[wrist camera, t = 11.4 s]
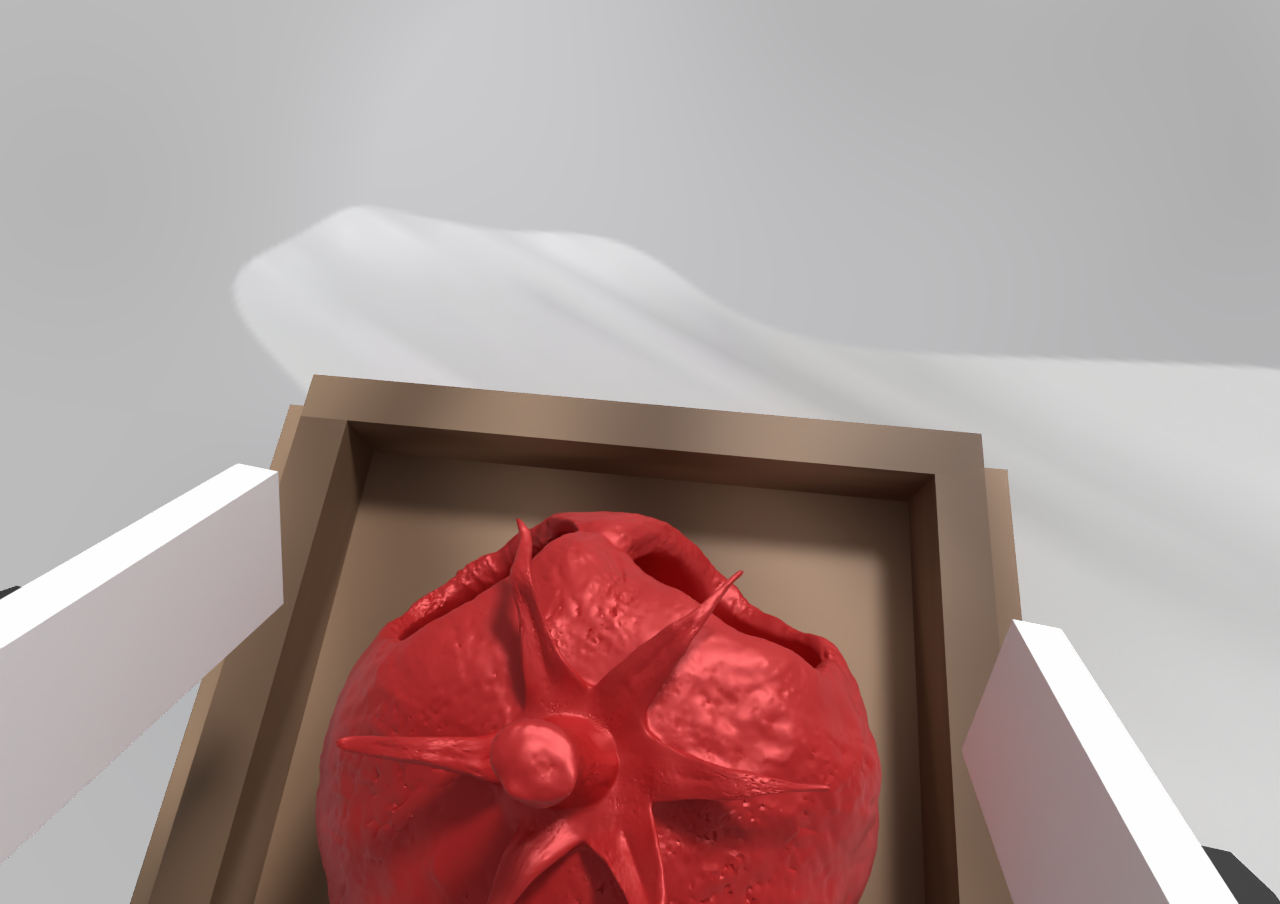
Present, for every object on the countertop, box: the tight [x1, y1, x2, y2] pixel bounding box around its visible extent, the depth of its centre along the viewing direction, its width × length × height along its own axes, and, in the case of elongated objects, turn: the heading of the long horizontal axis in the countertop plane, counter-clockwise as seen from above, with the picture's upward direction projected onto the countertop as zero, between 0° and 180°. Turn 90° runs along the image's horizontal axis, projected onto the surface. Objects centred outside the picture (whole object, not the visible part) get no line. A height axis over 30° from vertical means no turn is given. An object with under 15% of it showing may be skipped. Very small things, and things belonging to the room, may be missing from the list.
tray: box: [130, 375, 1022, 904], centre depth 17 cm, size 20×17×4 cm
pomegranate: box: [315, 511, 882, 904], centre depth 13 cm, size 10×10×9 cm
